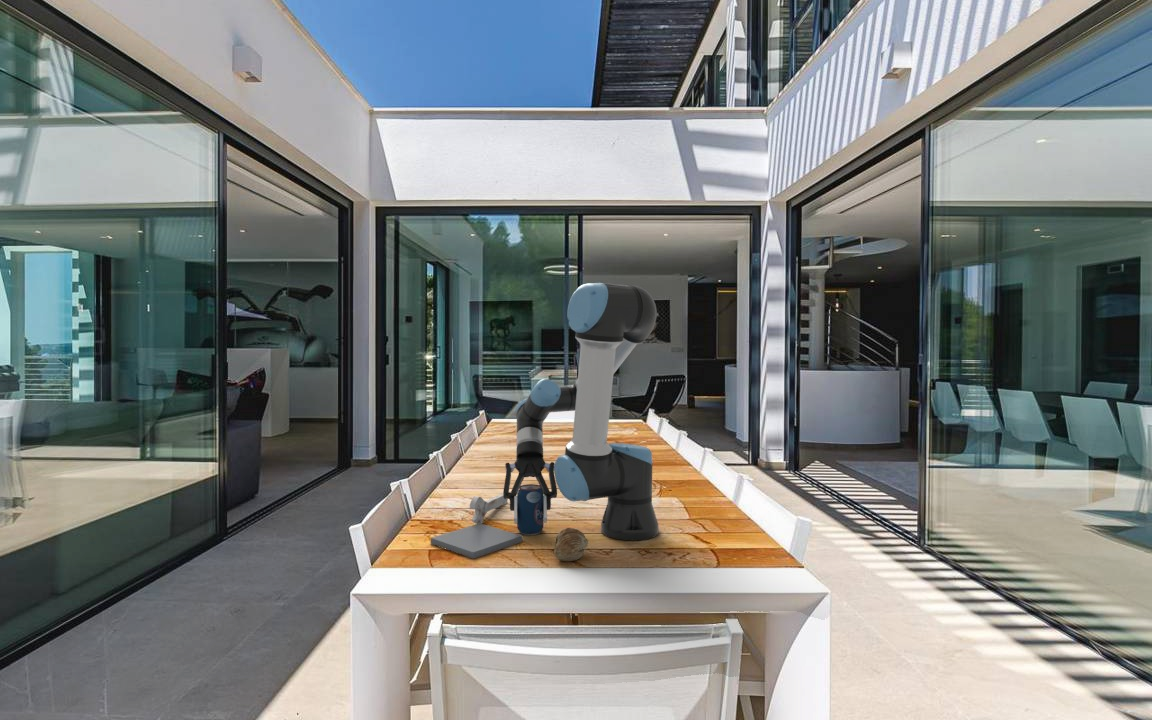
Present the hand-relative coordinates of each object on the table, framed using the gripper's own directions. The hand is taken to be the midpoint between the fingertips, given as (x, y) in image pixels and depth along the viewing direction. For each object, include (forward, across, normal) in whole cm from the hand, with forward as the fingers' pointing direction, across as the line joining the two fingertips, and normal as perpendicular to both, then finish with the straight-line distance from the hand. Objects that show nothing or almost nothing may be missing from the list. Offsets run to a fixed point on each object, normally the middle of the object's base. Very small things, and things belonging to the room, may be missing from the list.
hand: (530, 520), depth 159 cm
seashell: (+15, -9, +9) cm, 20 cm away
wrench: (-11, +11, -18) cm, 24 cm away
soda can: (+1, 0, -6) cm, 6 cm away
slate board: (+6, +13, 0) cm, 15 cm away
